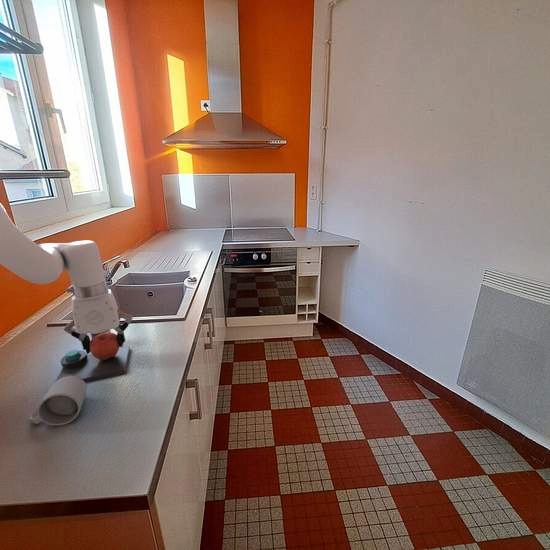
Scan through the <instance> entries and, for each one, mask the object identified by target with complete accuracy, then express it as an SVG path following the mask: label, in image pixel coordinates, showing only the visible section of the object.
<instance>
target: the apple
mask: <svg viewBox="0 0 550 550" xmlns="http://www.w3.org/2000/svg"><path fill="white" fill-rule="evenodd" d="M89 348H90V354H93V355H94V356H95V357H96V358H98V359H100V360H106V359H109V358H111V357H114V356H115V355H116V354H117V352H118V350H119V348H120V347H119V344H118V339H117V333H114V332H112V331H111V332H106V333H102V334H99V335H97V336H95V337H94V338H93V339H92V338H91V339H90V344H89Z"/></svg>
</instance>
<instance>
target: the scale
mask: <svg viewBox="0 0 550 550" xmlns="http://www.w3.org/2000/svg"><path fill="white" fill-rule="evenodd" d="M78 351H79V354H80V358H78V359H76V360H74V361H67V358H66V355H64V356H62V358H61V359H60V365H61V367H62V369H61V370H60V372H59V374H58V376H57V379H56V380H55V382H56V381H57V380H59V379H60V378H63V377H66V376H76V377H79V378H81V379H82V380H83V381H84V382H85V383H86V384H87V383H90V382H91V383H92V382H94V381H99V380H105V379H108V378H114V377H118V376H123V375H126V374H127V368H128V363H129V358H130V353H131V348H130V346H125V347H124V346H123V347H119V350H118V352H117V354H116V355H115V356H114V357H111V358H109V359H106V360H100V359H98V358H96V357H95V356H94V355H93V354H92V353H88V354H87V353H86V351H85V350H83V351H82V350H78Z"/></svg>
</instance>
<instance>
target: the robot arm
mask: <svg viewBox="0 0 550 550" xmlns="http://www.w3.org/2000/svg"><path fill="white" fill-rule="evenodd" d="M0 265H1V266H3V267H4V268H5V269H7V270H9V271H10V272H12V273H13V274H15V275H16V276H18V277H19V278H21V279H22V280H25V281H27V282H29V283H31V284H36V285H47V284H51V283H53V282H56V281H57V280H58V279H59V277H60V276H61V274H62V273H63V271H67V273H68V276H69V280H70V283H71V286H69V287H66V289H65V290H66V292H67V293H71V294H72V295H73V296H72V297H71V311H72V318H73V319H72V320H70V322H68V323H67V324H66V325H65V326H64V328H63V331H65V333H67V334H69V335H70V336H72V337H73V338H75V339H78V341H79V342H80V343H81V346H82V350H83V351H85V353H86V354H91V351H90V348H89V344H90V341H91V337H90V335H88V334H90V333H93V332H99V331H105V330H110V331H111V330H114V331H115V332H116V335H117V339H118V344H119V348H123V347H124V343H125V342H126V337H125V330H127V329H128V327H129V325H130V324H131V322H132V321H133V317H134V316H133V315H131V314H129V313H127V312H124V311H122V310H120V309H119V307H118V303H117V301H116V298H115V296H114V293H113V292H112V290H111V289H110V288H109V287H108V283H107V279H106V275H105V269H104V266H103V262H102V257H101V253H100V248H99V245H98V244H97V243H96V241H93V240H90V239H89V240H88V239H87V240H85V239H84V240H76V241H72V242H63V243H62V242H61V243H60V242H59V243H57V242H56V243H55V242H48V243H47V242H46V243H45V242H44V243H39V244H38V243H36V242H35V241H34V240H32V239H31V238H30V237H28V236H27V235H26V234H25V233H24V232H22V231H21V229H19V228H18V227H17V225H15V224H14V222H13V221H12V219H11V217H10V216H9V214H8V212H7V210H6V209H5V207H4V205H3V204H2V203H1V202H0ZM121 319H123V320H125V321H124V322H122V323H120V321H121Z"/></svg>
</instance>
